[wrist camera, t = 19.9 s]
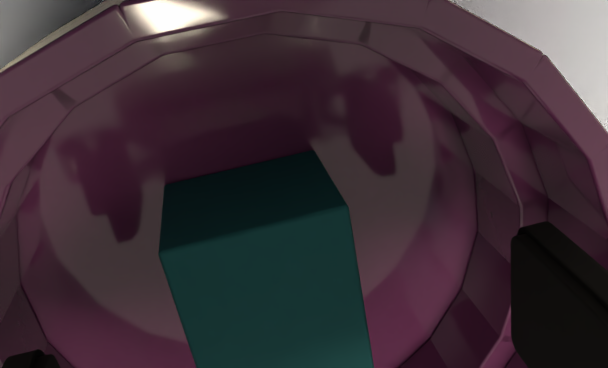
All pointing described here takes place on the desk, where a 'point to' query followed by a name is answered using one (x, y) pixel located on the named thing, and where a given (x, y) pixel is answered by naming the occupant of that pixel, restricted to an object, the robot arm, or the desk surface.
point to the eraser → (265, 267)
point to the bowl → (279, 143)
